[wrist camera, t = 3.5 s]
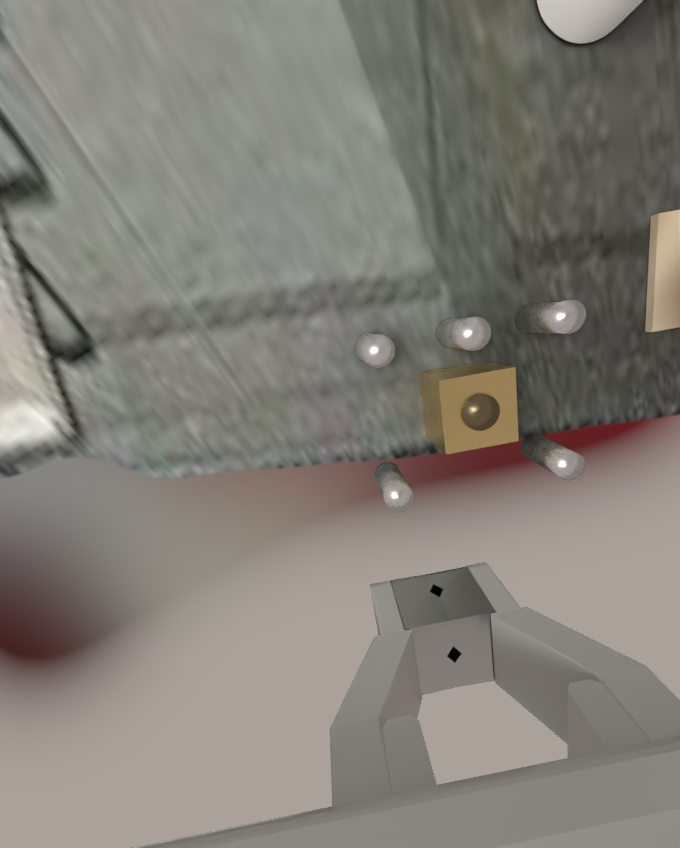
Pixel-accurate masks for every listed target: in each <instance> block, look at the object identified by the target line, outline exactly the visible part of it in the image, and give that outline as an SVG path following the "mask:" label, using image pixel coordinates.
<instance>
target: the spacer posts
mask: <svg viewBox="0 0 680 848" xmlns="http://www.w3.org/2000/svg"><path fill="white" fill-rule="evenodd" d="M585 318H586V310H585V307H584V305H583V304H582V303H581V302H579V301H577V300H566V301H557V302H548V303H539V304H530V305H526V306H524V307H522V308H521V309H520V310H519V311H518V313H517V315H516V319H515V322H516V326H517V328H518V329H519V330H520V331H521V332H524V333H560V334H570V333H573V332H576V331H577V330H579V329H580V328H581V326H582V325H583V323H584V321H585ZM435 336H436V340H437V341H438V343H439V344H440V345H442V346H444V347H450V348H457V349H465V350H472V351H475V350H479V349H481V348H483V347H484V346H485V345H486V344H487V343H488V342H489V340H490V337H491V328H490V325H489V323H488V322H487V321H486V320H485V319H483V318H481V317H468V318H455V319H446V320H444V321H442V322H441V323H440V324H439V325H438V326H437V328H436V332H435ZM354 348H355V353H356V355H357V356H358V358H360V359H361V360H362V361H364V362H366V363H367V364H369V365H370V366H372V367H376V368H381V367H384V366H386V365H388V364H389V363H390V362H391V361H392V360H393V358H394V355H395V346H394V343H393V342H392V340H391V339H390V338H389V337H387V336H385V335H382V334H371V333H367V334H363V335H361V336H360V337H359V338H358V339H357V340H356V342H355V347H354ZM521 452H522V454H523V455H524V456H526V457H527V458H529V459H530V460H532V461H534V462H535V463H537V464H539V465H540V466H542V467H544V468H545V469H547V470H549V471H550V472H552V473H554V474H555V475H557V476H559V477H560V478H562V479H564V480H572V479H575V478H577V477H578V476H579V475H580V474H581V473H582V472H583V470H584V467H585V461H584V458H583V457H582V456H581V455H580V454H578V453H576V452H573V451H571V450H569V449H567V448H565V447H563V446H561V445H559V444H557V443H554V442H552V441H550V440H548V439H546V438H544V437H542V436H540V435H537V434H533V435H529V436H528V437H526V438H525V439H524V440H523V442H522V444H521ZM374 476H375V479H376V482H377V484H378V487H379V489H380V491H381V494H382V496H383V499H384V501H385V504H386V506H387V507H388V508H389V509H390V510H391V511H394V512H404V511H406V510H407V509H409V508H410V507H411V505H412V504H413V502H414V494H413V492H412V490H411V489H410V487H409V485H408V484H407V482H406V480H405V479H404V477H403V475H402V474H401V472H400V470H399V469H398V467H397V466H396V465H395V464H394V463H392V462H384V463H381V464H380V465H378V466H377V468H376V469H375V472H374Z"/></svg>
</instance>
